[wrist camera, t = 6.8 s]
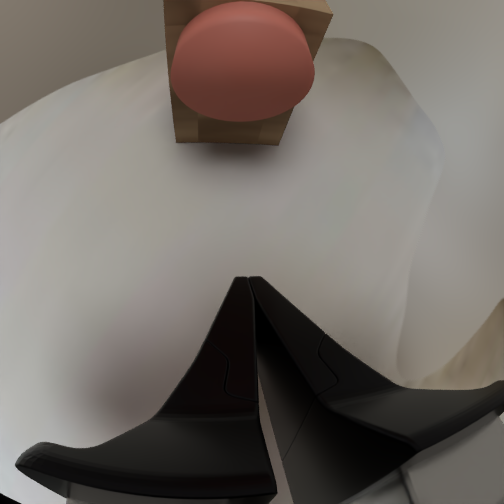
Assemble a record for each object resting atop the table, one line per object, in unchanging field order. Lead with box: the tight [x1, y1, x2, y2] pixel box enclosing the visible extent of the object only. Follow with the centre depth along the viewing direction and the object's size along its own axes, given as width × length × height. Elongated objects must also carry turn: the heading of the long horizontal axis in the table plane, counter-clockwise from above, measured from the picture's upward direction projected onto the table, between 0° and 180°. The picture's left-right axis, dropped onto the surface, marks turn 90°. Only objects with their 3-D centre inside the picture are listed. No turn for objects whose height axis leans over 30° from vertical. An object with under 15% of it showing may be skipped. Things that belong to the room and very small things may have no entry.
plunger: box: [171, 1, 315, 122], centre depth 11 cm, size 8×6×6 cm
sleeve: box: [164, 0, 333, 145], centre depth 14 cm, size 5×7×11 cm
